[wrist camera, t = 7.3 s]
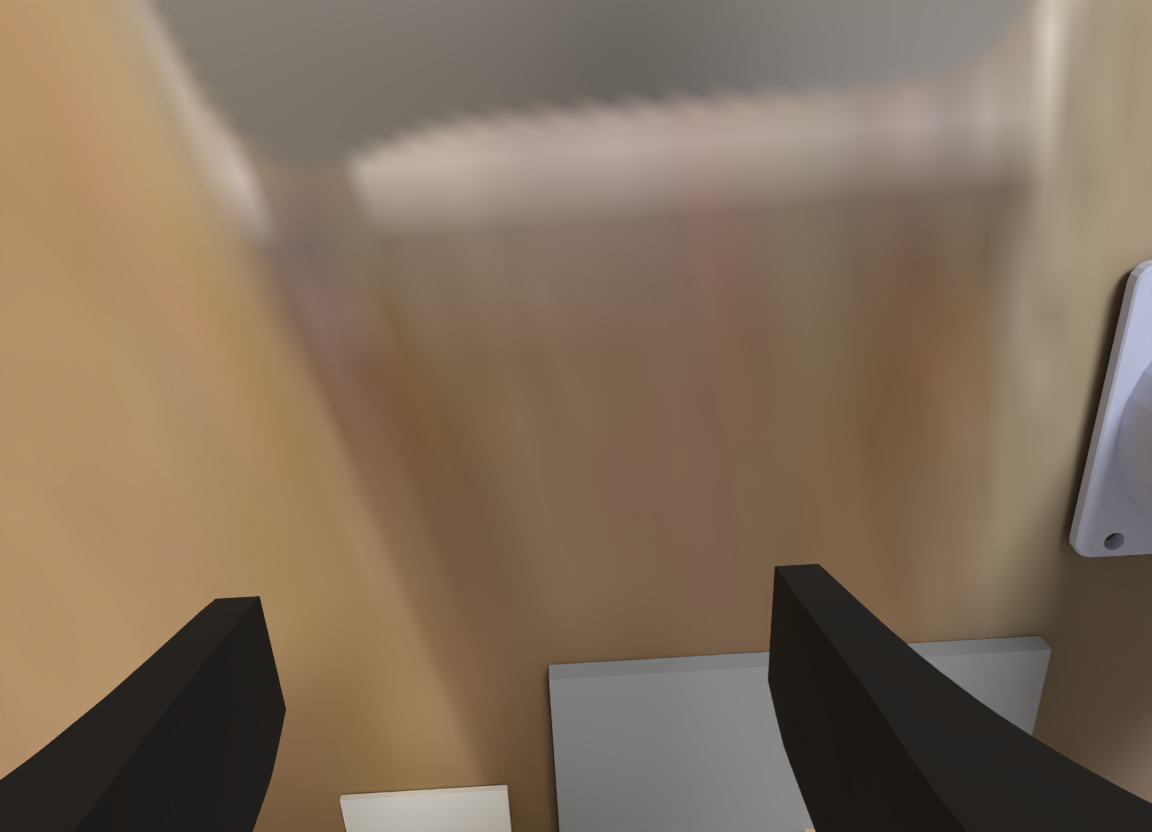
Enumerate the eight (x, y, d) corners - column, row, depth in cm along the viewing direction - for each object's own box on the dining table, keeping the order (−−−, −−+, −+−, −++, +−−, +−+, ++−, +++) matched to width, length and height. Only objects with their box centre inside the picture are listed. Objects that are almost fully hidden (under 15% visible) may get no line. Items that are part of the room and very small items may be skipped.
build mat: (1041, 635, 26) (1051, 649, 25) (978, 916, 31) (985, 933, 31) (548, 664, 26) (548, 679, 25) (568, 943, 31) (568, 960, 30)
